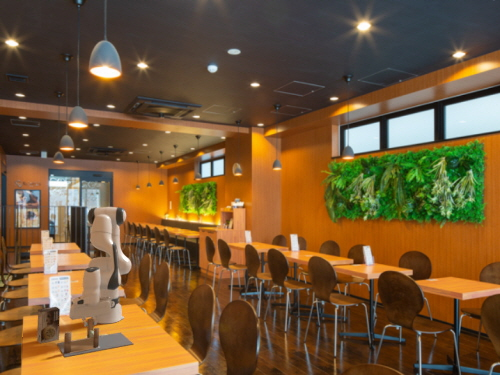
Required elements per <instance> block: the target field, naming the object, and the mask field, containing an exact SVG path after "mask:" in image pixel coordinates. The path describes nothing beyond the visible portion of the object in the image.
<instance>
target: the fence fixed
mask: <svg viewBox="0 0 500 375" xmlns="http://www.w3.org/2000/svg"><path fill="white" fill-rule="evenodd" d="M93 331H94V338H93V337H90V338H87V337H86V338H80V339H74V340H72V331H69V332H68V331H67V332H64V335H63V337H64V339H63V340H64V341H63V342H64V353H65V354H67V353H70V352H74V351H80V350H85V349H91V348H98V347H99V336H100V328H99V327H95V328H94V327H93ZM93 343H94V345H93Z"/></svg>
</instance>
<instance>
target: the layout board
mask: <svg viewBox="0 0 500 375" xmlns="http://www.w3.org/2000/svg"><path fill="white" fill-rule="evenodd" d="M56 345H57V347H58V349H59V350H60V352H61V354H62V355H63V357H64V358H68V357H69V358H70V357H74V356H79V355H83V354H84V355H85V354H86V355H87V354H89V353H95V352H96V353H97V352H101V351H106V350H111V349H116V348H123V347H127V346H133V345H134V343H133V341H131V340H130V339H129V338H128V337H126V336H125V335H124V334H123V333H122V332H116V333H110V334H109V333H108V334H103V335H99V347H98V348H91V349H85V350H80V351H74V352H70V353H67V354H65V353H64V341H63V342H62V341H61V342H57V343H56Z"/></svg>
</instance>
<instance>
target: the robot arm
mask: <svg viewBox="0 0 500 375" xmlns="http://www.w3.org/2000/svg"><path fill="white" fill-rule="evenodd" d="M126 220H127V213H126V209H125V208H123V207H119V206H118V207H115V206H104V207H98V206H97V207H92V208H90V209H89V210H88V212H87V221H88V223H89V224H90V225H92V226H91V231H90V243H91V245H92V246H93V247H94V248H96V249H97V250H99V251H102V252H105V253H107V254H108V256H97V257H94V258H91V259H90V261H89V263H88V266H87V268H85V269H84V271H83V275H82V276H83V277H82V289H83V290H82V295H80V296H77V297H75V298H72V304H71V306H70V308H69V318H70V320H74V321H75V320H79V319H81V320H82V322H83V327H87V326H88V321H86V319H89V318H91V319H94V326H96V325H98V324H105V325H106V324H113V323H117V322H120V321H122V320H124V319H125V316H123V315H122V313H123V312H122V305H121V304H120V294H119V293H120V292H119V291H120V289H119V287H120V286H121V284H122V277H121V276H122V275H127V274H129V272H130V271H131V270H132V262H131V259H130V258H129V257H127V256H126V255H125V254H124V253H123V251H122V248H121V239H120V238H121V231H120V227H121V225H123V224H124V223H125V222H126Z"/></svg>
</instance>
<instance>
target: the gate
mask: <svg viewBox="0 0 500 375" xmlns="http://www.w3.org/2000/svg"><path fill="white" fill-rule="evenodd" d="M87 323H88V326H86V338H90V337H93V338H94V326H95V325H94V319H92V318H87ZM93 345H94V343H93Z"/></svg>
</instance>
